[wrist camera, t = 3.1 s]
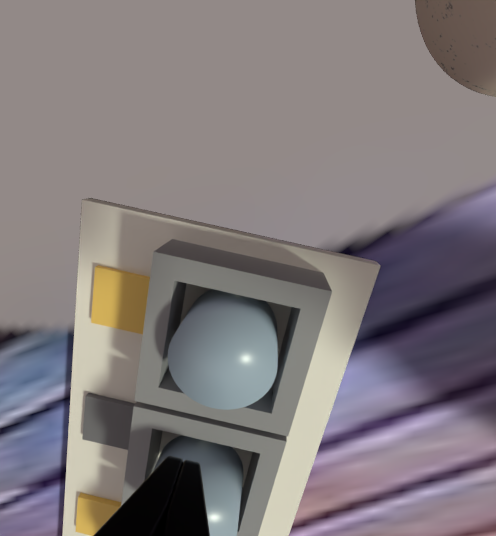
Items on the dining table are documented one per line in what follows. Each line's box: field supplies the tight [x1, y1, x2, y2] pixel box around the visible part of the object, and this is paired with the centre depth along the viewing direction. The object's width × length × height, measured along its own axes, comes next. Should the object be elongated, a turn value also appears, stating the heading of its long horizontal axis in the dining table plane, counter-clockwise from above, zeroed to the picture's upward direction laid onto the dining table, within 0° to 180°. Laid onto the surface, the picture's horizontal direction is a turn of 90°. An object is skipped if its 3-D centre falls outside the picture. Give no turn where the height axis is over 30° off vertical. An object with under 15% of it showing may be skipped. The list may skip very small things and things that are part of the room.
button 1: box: [168, 289, 278, 410], centre depth 15 cm, size 4×4×3 cm
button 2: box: [154, 435, 244, 536], centre depth 16 cm, size 4×4×3 cm
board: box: [62, 198, 380, 536], centre depth 18 cm, size 14×24×3 cm, turn 168°
